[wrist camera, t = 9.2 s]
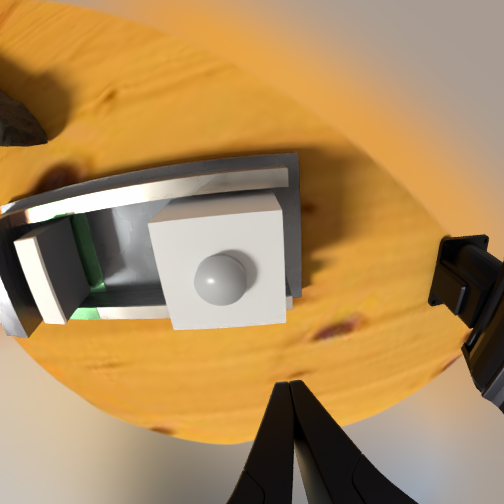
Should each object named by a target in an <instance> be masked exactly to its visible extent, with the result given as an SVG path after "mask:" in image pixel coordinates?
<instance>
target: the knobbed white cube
mask: <svg viewBox="0 0 504 504" xmlns="http://www.w3.org/2000/svg"><path fill="white" fill-rule="evenodd" d="M148 228H149V233H150V238H151V242H152V247H153V251H154V256H155V260H156V264H157V269H158V273H159V277H160V281H161V285H162V289H163V293H164V296H165V300H166V304H167V308H168V311H169V315H170V318H171V322H172V325H173V329H174V330H191V329H212V328H228V327H243V326H255V325H267V324H277V323H286V295H285V264H284V239H283V217H282V209H281V207H280V205H279V203H278V201H277V199H276V197H275V195H274V193H273V191H272V189H264V190H252V191H241V192H230V193H220V194H211V195H202V196H193V197H185V198H177V199H172V200H170V201H169V202H168V203H167V204H166V205H165V206H164V207H163V208H162V209H161V210H160V211H159V212H158V213H157V214H156V215H155V216H154V217H153V218H152V219H151V220H150V222H149V223H148Z"/></svg>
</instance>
